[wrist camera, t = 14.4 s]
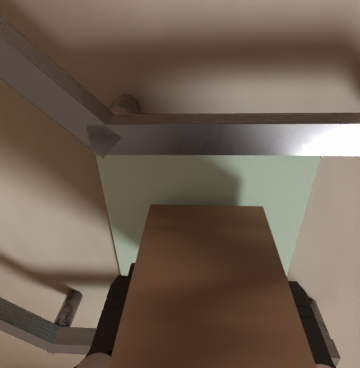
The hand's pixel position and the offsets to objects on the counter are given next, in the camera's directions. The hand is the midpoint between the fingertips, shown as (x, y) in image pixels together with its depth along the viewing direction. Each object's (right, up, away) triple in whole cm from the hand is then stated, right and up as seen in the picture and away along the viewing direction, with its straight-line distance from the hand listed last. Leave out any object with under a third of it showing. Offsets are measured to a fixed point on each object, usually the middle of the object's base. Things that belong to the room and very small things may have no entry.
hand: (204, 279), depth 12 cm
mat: (0, +2, +3) cm, 3 cm away
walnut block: (0, +1, +2) cm, 2 cm away
